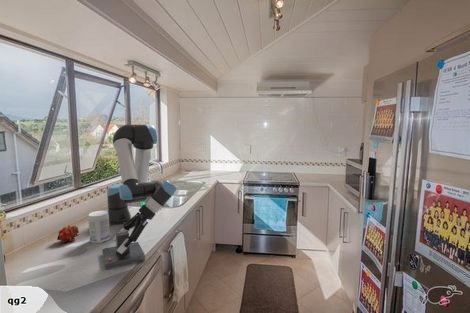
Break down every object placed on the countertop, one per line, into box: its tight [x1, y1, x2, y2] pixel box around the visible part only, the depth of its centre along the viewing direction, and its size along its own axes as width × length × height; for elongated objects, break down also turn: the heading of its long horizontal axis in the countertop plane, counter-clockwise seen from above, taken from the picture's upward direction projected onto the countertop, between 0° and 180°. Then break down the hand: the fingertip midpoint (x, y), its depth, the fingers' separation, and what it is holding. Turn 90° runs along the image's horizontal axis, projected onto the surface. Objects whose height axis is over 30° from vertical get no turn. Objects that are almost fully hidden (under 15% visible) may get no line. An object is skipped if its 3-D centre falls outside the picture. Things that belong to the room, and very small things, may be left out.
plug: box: [115, 231, 130, 255], centre depth 120 cm, size 4×5×11 cm
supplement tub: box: [87, 210, 111, 244], centre depth 139 cm, size 10×10×15 cm
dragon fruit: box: [56, 225, 80, 244], centre depth 138 cm, size 8×8×12 cm
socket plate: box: [101, 241, 146, 270], centre depth 121 cm, size 16×16×3 cm
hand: (117, 246), depth 119 cm, fingers open, 13 cm apart
